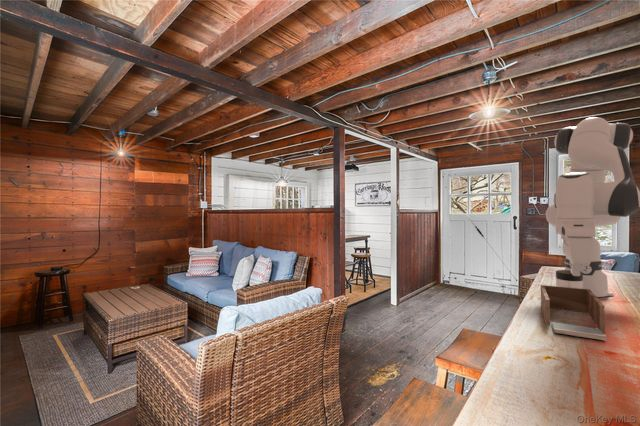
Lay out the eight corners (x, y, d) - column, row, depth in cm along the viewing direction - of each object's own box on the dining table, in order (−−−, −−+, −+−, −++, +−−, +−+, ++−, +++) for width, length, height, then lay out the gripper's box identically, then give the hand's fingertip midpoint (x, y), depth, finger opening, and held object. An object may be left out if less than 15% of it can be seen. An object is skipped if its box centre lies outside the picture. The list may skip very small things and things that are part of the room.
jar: (590, 304, 114) (589, 273, 114) (576, 308, 111) (575, 275, 111) (563, 298, 122) (563, 269, 122) (550, 301, 119) (549, 271, 119)
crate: (541, 306, 114) (540, 285, 114) (590, 311, 107) (589, 289, 107) (546, 324, 97) (545, 299, 97) (605, 332, 90) (604, 305, 90)
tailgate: (551, 321, 96) (554, 328, 90) (599, 328, 90) (606, 336, 83) (551, 325, 96) (554, 332, 90) (599, 332, 90) (606, 340, 83)
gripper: (556, 225, 98) (557, 267, 99) (566, 230, 81) (566, 281, 82) (582, 225, 95) (582, 268, 95) (597, 231, 78) (598, 284, 78)
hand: (575, 275), depth 88 cm, fingers closed
